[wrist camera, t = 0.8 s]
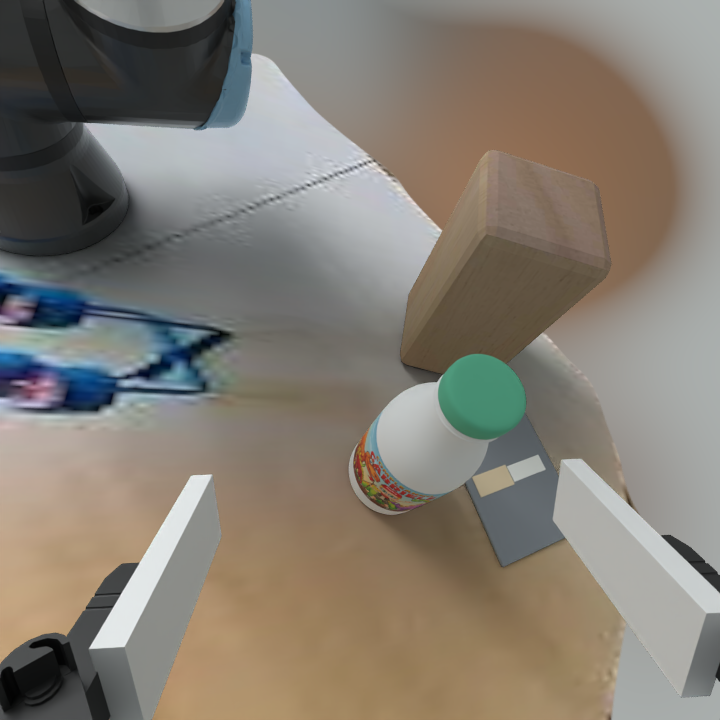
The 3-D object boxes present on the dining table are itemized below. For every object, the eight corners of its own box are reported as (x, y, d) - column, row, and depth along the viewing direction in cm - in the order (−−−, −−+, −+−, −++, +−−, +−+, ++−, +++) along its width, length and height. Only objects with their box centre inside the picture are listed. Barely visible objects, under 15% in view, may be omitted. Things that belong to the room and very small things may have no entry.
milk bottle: (361, 421, 41) (436, 307, 24) (433, 449, 41) (560, 356, 24) (335, 498, 37) (403, 429, 20) (416, 528, 38) (551, 486, 20)
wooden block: (485, 315, 51) (603, 178, 33) (483, 388, 46) (620, 273, 28) (407, 293, 50) (486, 140, 32) (396, 365, 45) (483, 232, 27)
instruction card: (438, 423, 43) (439, 421, 42) (515, 399, 46) (517, 397, 46) (501, 567, 38) (503, 566, 37) (583, 528, 41) (586, 527, 41)
